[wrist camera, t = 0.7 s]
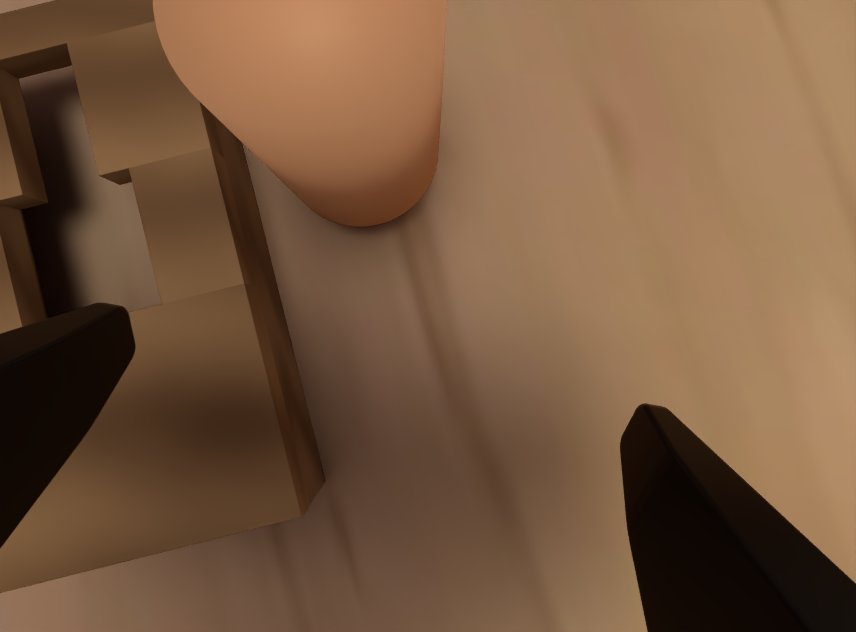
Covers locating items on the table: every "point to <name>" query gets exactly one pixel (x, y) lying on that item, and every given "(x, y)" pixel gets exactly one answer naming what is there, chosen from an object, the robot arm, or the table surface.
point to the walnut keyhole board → (155, 311)
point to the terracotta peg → (321, 92)
